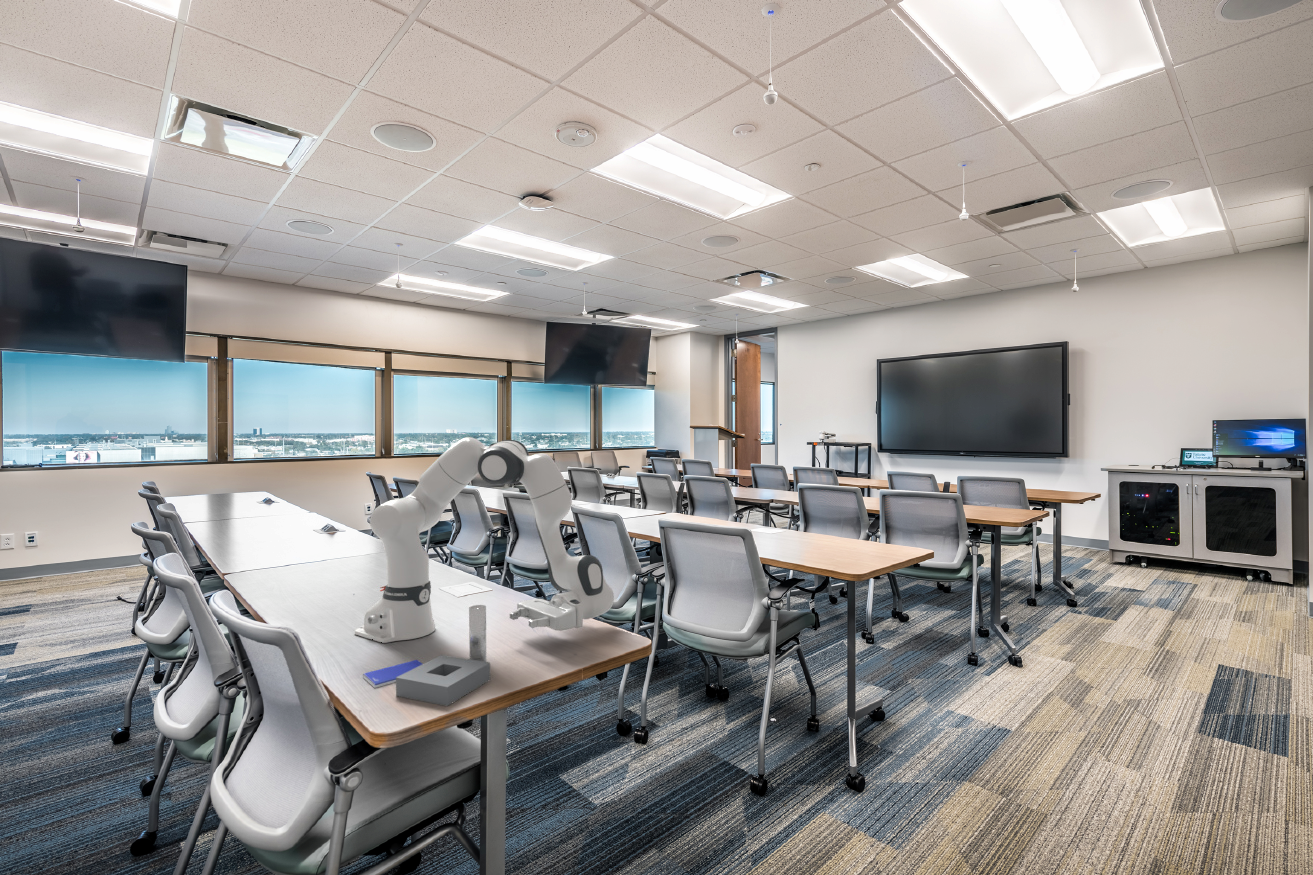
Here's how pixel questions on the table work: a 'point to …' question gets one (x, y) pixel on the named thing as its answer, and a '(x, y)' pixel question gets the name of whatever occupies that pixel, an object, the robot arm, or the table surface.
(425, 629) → the robot arm
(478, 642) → the post
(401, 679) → the socket base
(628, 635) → the table surface
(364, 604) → the table surface
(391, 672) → the hard drive
